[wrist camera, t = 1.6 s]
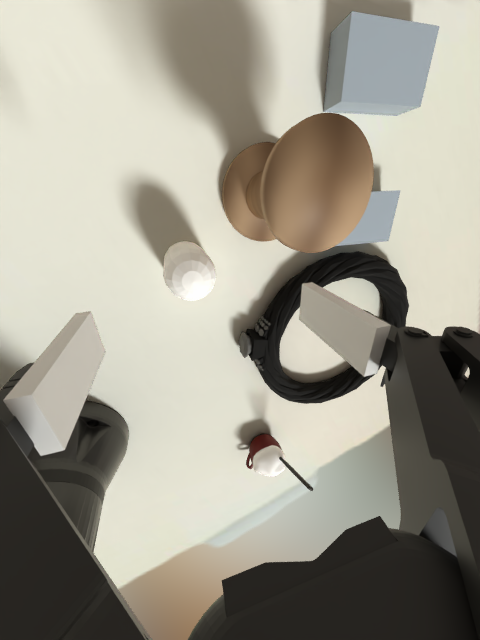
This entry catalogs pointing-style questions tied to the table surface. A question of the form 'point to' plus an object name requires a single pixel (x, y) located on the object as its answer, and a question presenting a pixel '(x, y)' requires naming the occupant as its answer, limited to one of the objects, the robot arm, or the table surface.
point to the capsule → (188, 271)
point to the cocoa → (269, 458)
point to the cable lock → (273, 324)
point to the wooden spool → (302, 185)
